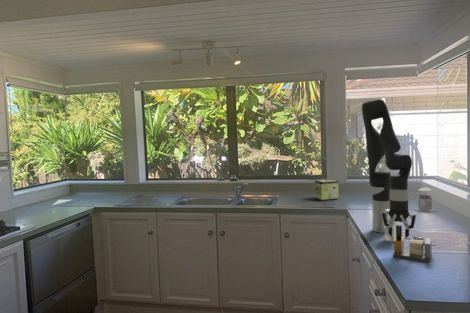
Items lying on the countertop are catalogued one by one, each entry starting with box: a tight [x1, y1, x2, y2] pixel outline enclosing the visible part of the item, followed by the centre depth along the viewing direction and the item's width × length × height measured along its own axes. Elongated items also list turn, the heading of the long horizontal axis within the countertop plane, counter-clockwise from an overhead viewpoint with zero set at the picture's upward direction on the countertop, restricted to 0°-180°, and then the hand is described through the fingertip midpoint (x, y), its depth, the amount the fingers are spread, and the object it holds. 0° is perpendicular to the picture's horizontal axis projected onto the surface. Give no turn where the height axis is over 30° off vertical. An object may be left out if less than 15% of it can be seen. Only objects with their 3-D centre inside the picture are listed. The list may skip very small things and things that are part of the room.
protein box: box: [314, 179, 339, 202], centre depth 295 cm, size 10×16×16 cm
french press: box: [413, 173, 434, 213], centre depth 246 cm, size 10×12×25 cm
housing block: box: [409, 238, 424, 255], centre depth 159 cm, size 5×5×5 cm
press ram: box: [393, 224, 405, 253], centre depth 162 cm, size 7×3×11 cm, turn 148°
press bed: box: [392, 236, 432, 263], centre depth 159 cm, size 12×14×8 cm
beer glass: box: [383, 209, 399, 243], centre depth 182 cm, size 7×7×15 cm
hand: (398, 236), depth 162 cm, fingers open, 5 cm apart
